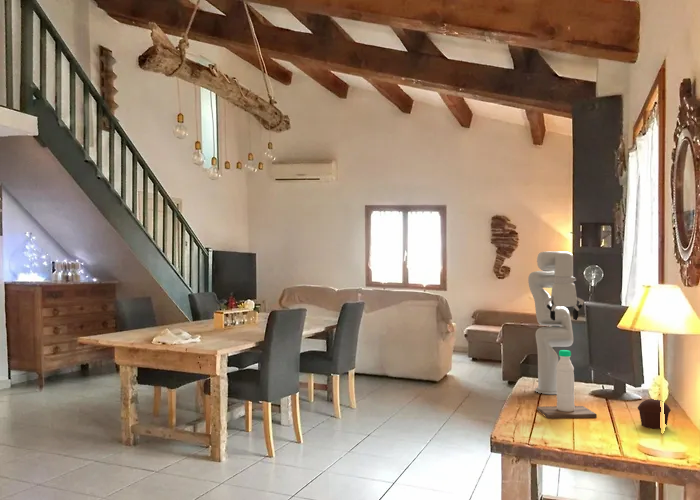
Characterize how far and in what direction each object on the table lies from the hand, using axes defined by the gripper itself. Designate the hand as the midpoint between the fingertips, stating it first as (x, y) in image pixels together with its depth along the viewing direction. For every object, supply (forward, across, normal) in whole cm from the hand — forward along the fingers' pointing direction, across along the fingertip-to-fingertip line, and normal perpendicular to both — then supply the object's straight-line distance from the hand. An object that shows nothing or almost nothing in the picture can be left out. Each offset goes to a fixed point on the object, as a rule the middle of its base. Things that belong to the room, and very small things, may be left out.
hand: (564, 319), depth 268 cm
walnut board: (+38, +4, +11) cm, 40 cm away
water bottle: (+37, +4, +11) cm, 39 cm away
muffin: (+38, -24, +31) cm, 54 cm away
